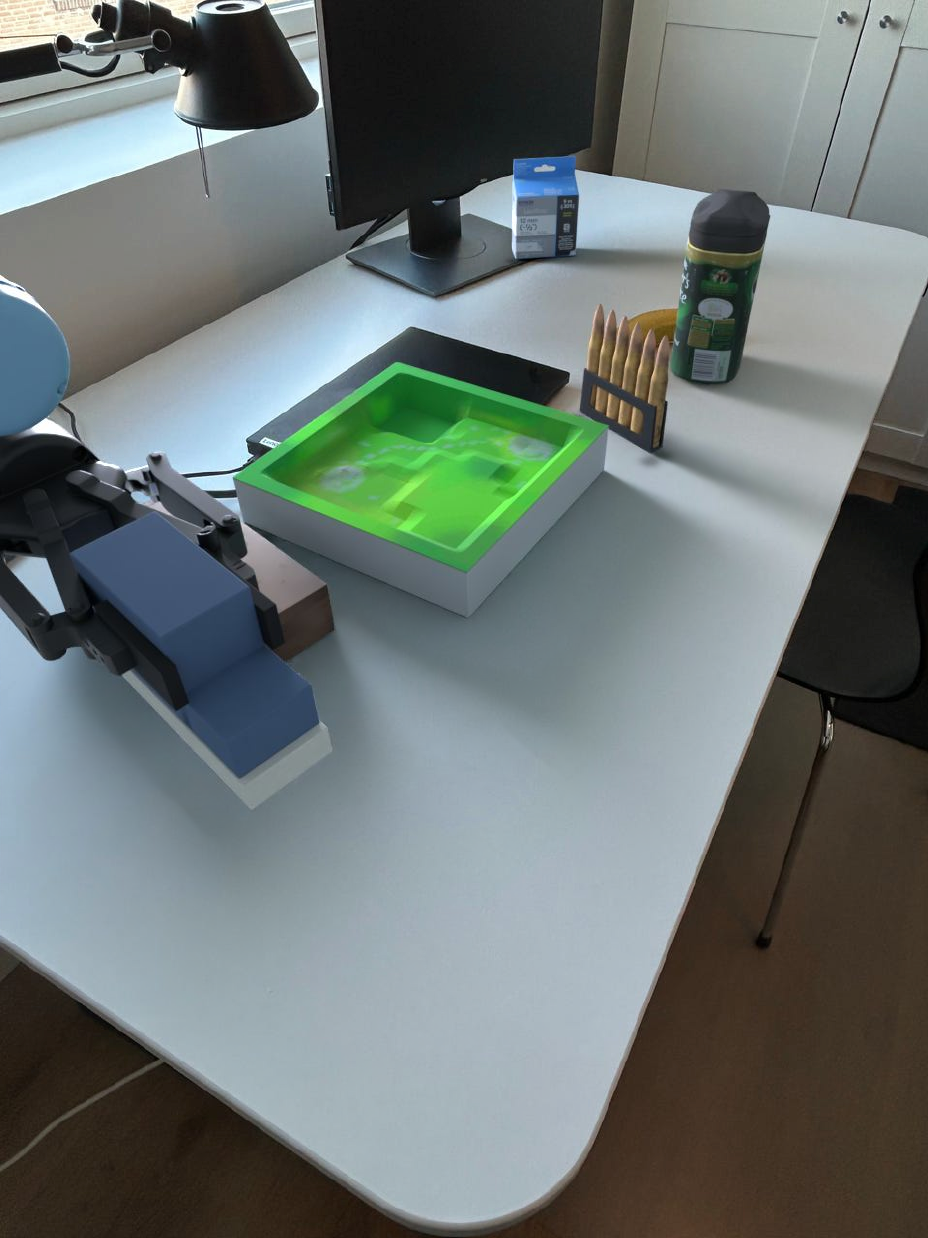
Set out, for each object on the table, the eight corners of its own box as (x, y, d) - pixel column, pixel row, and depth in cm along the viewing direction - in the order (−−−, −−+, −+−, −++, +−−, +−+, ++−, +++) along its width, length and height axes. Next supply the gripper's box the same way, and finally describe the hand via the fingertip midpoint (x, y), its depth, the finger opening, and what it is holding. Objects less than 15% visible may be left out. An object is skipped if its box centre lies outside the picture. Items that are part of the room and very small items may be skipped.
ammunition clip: (578, 410, 95) (586, 303, 87) (591, 405, 96) (600, 298, 88) (650, 453, 89) (666, 342, 81) (663, 446, 90) (680, 336, 81)
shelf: (210, 711, 65) (194, 665, 62) (81, 588, 76) (61, 542, 72) (335, 629, 71) (327, 583, 68) (200, 526, 82) (187, 481, 78)
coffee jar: (675, 344, 106) (700, 179, 93) (742, 352, 104) (778, 185, 91) (662, 382, 99) (687, 211, 86) (734, 392, 97) (771, 218, 84)
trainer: (251, 810, 44) (211, 691, 38) (114, 668, 51) (62, 549, 45) (332, 751, 47) (308, 630, 40) (191, 624, 54) (151, 505, 48)
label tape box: (514, 260, 125) (516, 167, 117) (511, 249, 128) (512, 157, 120) (575, 257, 125) (582, 164, 117) (571, 246, 128) (576, 154, 120)
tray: (468, 618, 72) (466, 571, 69) (243, 521, 82) (232, 477, 79) (604, 469, 87) (608, 425, 84) (399, 403, 97) (396, 361, 94)
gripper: (161, 461, 62) (375, 620, 50) (-101, 583, 53) (80, 813, 41) (131, 363, 57) (361, 514, 45) (-166, 480, 48) (20, 708, 36)
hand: (226, 656), depth 43 cm, fingers closed on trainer, 5 cm apart
